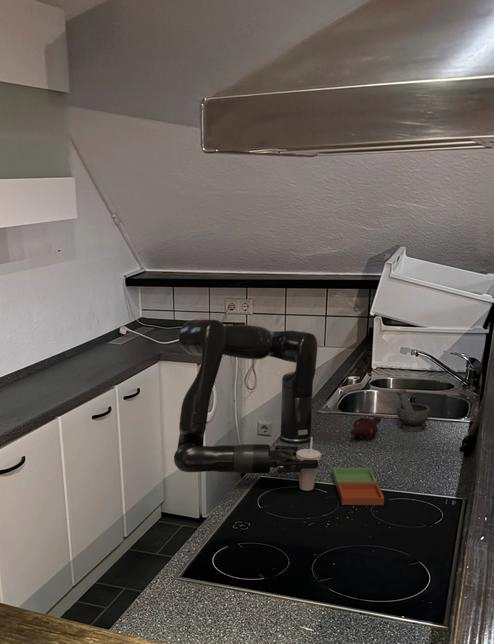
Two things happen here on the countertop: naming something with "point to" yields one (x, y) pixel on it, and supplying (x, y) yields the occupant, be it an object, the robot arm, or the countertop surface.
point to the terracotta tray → (360, 494)
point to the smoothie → (308, 475)
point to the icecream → (365, 427)
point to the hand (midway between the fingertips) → (316, 459)
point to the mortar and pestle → (411, 413)
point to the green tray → (353, 475)
